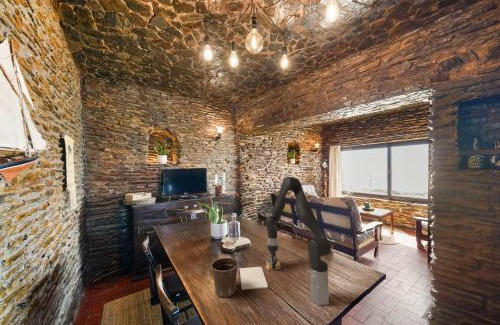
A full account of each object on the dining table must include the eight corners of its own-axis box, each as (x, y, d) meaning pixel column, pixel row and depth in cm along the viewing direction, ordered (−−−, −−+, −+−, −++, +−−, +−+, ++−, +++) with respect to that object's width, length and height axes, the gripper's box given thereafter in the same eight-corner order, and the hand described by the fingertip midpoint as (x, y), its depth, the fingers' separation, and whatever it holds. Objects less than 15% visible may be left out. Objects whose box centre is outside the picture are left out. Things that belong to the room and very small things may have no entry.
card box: (280, 268, 141) (280, 261, 141) (268, 270, 138) (268, 263, 138) (277, 265, 145) (277, 258, 146) (266, 267, 143) (266, 260, 143)
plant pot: (205, 291, 116) (205, 263, 117) (227, 279, 128) (227, 255, 128) (222, 304, 105) (221, 274, 105) (244, 291, 116) (244, 263, 117)
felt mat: (268, 287, 119) (268, 286, 119) (241, 289, 117) (241, 288, 117) (261, 267, 143) (261, 266, 143) (239, 268, 141) (239, 268, 141)
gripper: (280, 247, 135) (280, 271, 135) (275, 239, 150) (275, 261, 149) (269, 247, 135) (269, 272, 134) (265, 239, 149) (265, 262, 149)
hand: (272, 266), depth 142 cm, fingers closed on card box, 5 cm apart
